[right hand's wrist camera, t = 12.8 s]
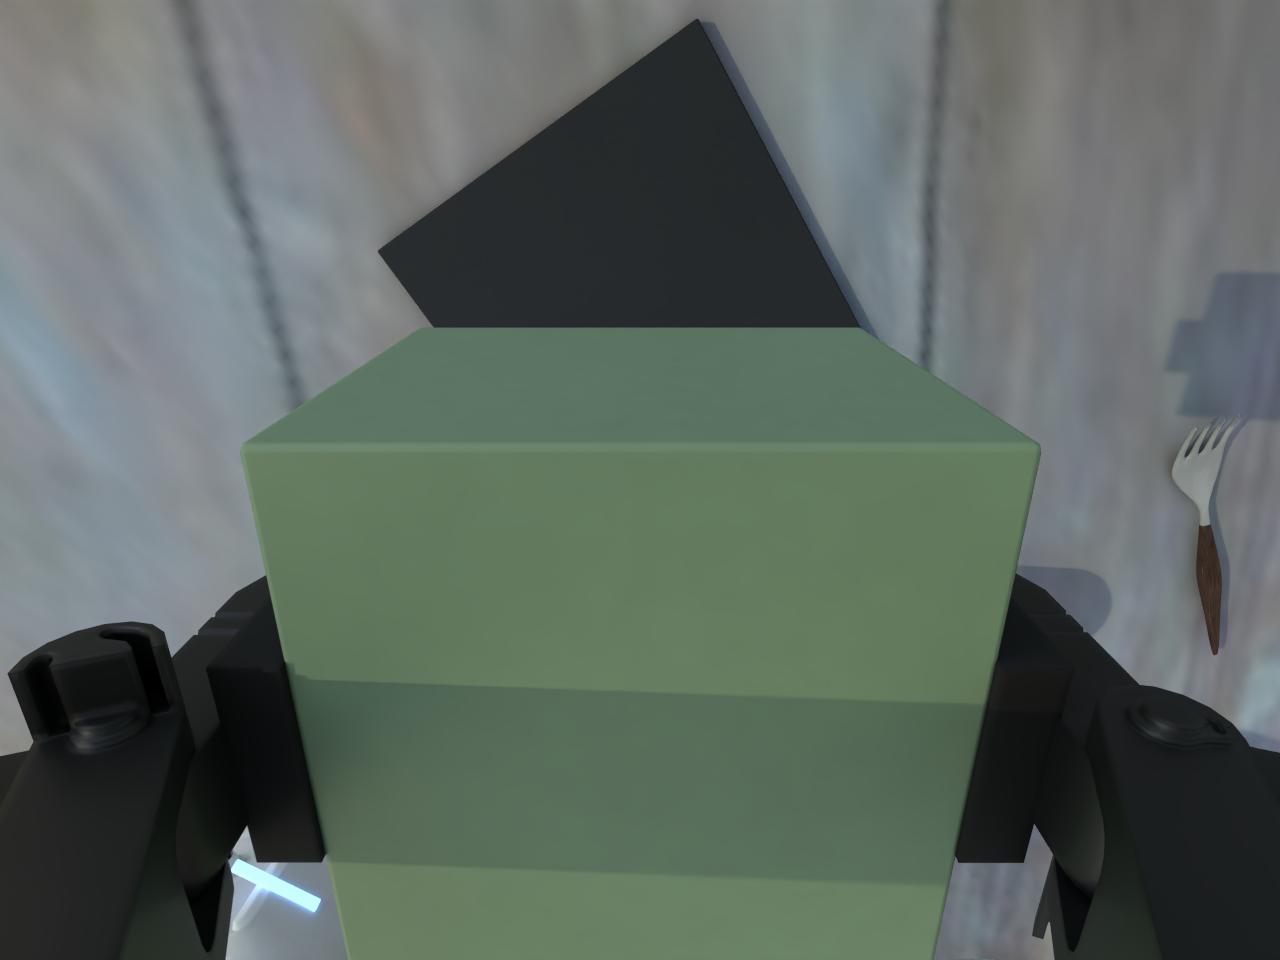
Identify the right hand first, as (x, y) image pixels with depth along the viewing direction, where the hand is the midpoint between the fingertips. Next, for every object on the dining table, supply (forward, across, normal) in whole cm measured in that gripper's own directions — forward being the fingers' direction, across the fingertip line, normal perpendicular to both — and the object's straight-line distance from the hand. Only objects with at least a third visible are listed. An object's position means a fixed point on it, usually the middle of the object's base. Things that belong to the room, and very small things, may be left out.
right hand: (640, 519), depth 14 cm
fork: (+25, +32, -13) cm, 42 cm away
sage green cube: (0, 0, 0) cm, 0 cm away
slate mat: (+25, 0, 0) cm, 25 cm away
